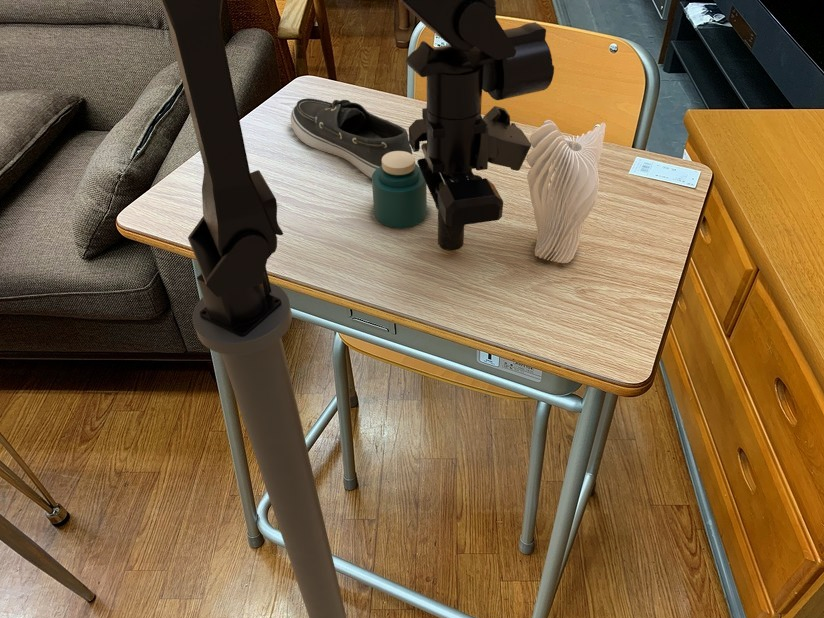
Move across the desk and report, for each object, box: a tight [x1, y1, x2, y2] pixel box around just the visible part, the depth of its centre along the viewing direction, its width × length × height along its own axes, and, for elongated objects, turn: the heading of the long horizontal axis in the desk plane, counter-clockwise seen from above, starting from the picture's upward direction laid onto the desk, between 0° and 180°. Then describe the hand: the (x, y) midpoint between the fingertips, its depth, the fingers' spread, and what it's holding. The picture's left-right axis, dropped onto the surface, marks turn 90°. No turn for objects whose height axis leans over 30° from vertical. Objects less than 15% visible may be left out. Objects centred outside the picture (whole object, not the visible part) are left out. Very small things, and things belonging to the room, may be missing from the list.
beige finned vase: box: [526, 119, 607, 264], centre depth 77 cm, size 8×8×18 cm
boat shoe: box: [290, 97, 413, 180], centre depth 97 cm, size 9×26×7 cm, turn 46°
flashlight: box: [434, 180, 465, 252], centre depth 79 cm, size 4×4×8 cm
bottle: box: [371, 151, 428, 229], centre depth 86 cm, size 7×7×8 cm
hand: (450, 229), depth 80 cm, fingers closed on flashlight, 3 cm apart
